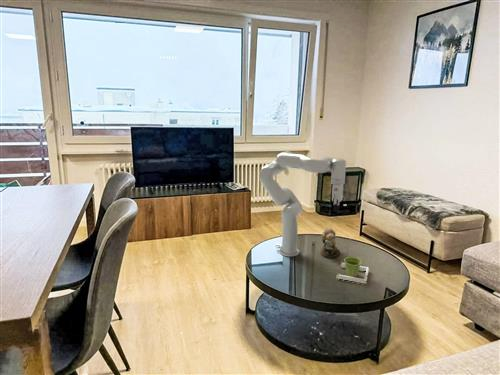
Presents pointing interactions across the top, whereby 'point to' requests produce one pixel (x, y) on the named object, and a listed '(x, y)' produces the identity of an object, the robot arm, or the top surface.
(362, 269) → the white u-shaped block
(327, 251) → the seated figurine
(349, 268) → the plant pot
